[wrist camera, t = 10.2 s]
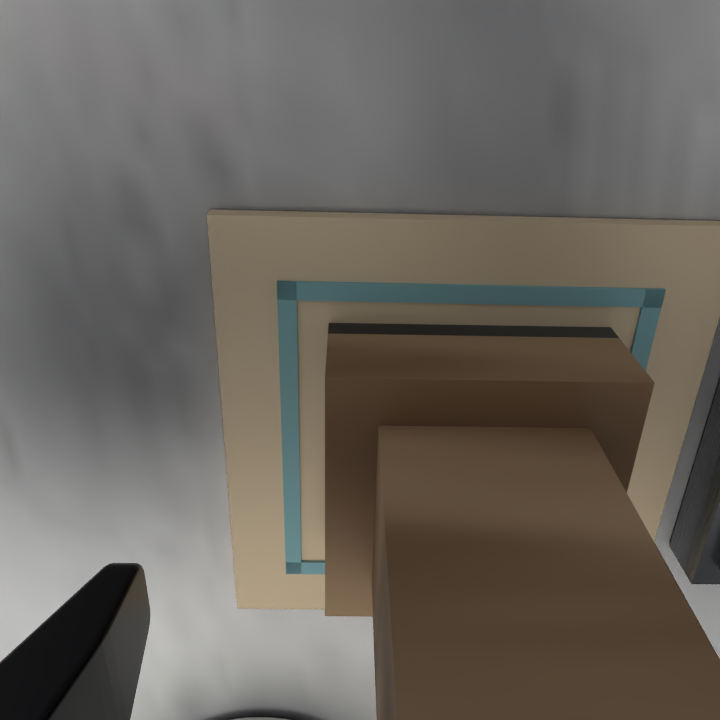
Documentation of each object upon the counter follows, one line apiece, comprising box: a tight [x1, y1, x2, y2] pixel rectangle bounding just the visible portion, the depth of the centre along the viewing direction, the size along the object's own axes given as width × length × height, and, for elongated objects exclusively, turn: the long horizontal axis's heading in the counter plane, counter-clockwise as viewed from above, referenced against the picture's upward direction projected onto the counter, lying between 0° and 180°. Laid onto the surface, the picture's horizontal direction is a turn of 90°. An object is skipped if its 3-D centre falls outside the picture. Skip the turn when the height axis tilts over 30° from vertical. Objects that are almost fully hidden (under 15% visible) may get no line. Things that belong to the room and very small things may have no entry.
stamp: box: [325, 323, 720, 720], centre depth 9 cm, size 4×4×6 cm
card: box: [207, 209, 720, 609], centre depth 12 cm, size 8×8×1 cm
